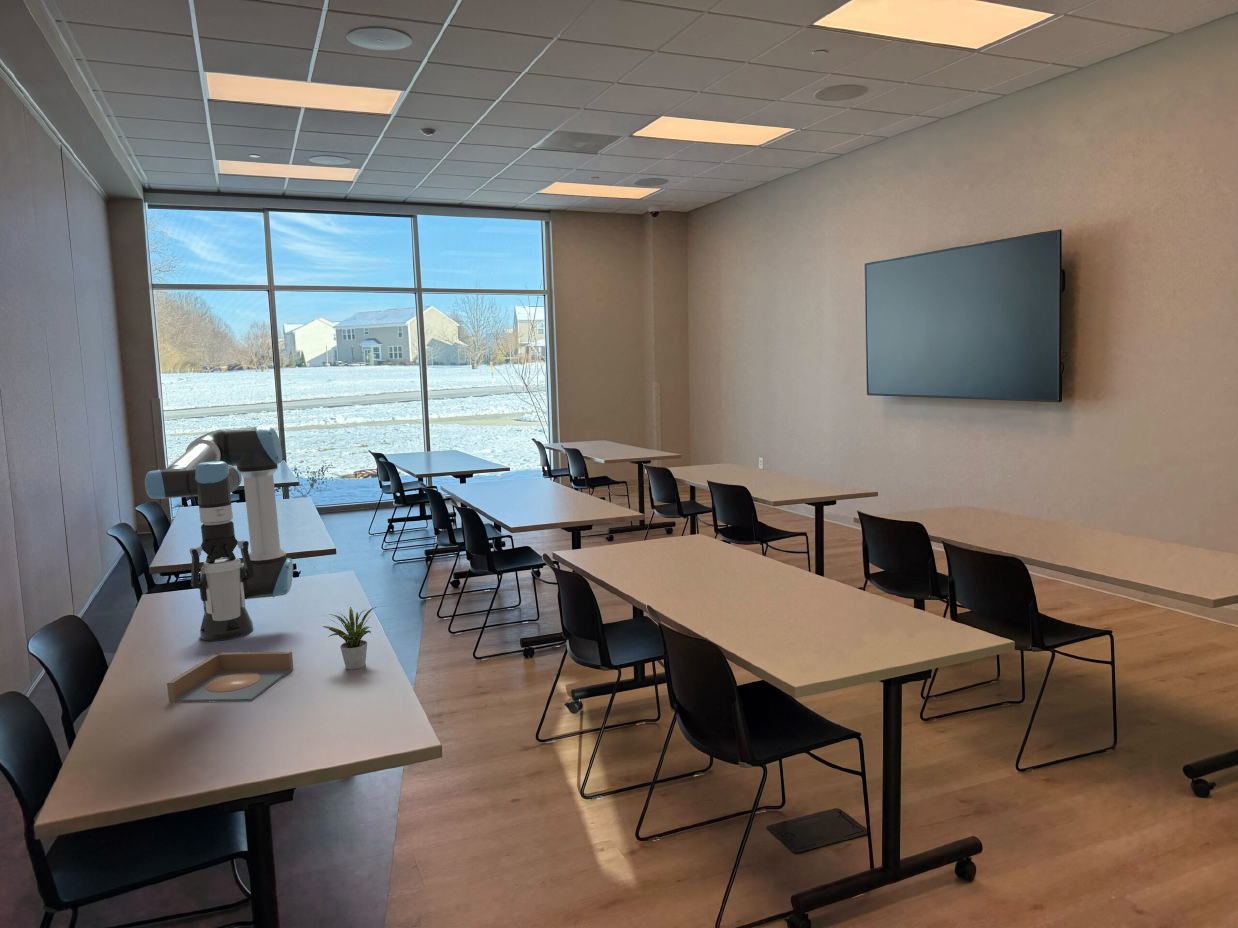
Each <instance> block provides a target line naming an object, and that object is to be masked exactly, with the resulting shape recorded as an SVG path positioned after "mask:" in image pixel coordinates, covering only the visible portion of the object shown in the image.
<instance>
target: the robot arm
mask: <svg viewBox="0 0 1238 928" xmlns="http://www.w3.org/2000/svg"><path fill="white" fill-rule="evenodd" d="M282 462H283V449H282V444H281V441H280V438H279V435H278V433H277V432H276V430H275V429H274V428H272V427H271V426H251V427H239V428H237V427H235V428H221V429H216V430H213V431H210V432H207V433H205V434H203V435H201V436H199V437H197V438H196V439H194V440H192V441H191V442H190V443H189V444H188V445H187V447H186V450H185V452H184V453H183V454H182V455H180V456H179V457H178V458H177V459H175V460H174V461H173V462H172V463H171V464H169V465H168V466H167V467H166V468H165V469H160V468H159V469H157V470H156V469H155V470H150V471H147V473H146V474H145V478H144V488H145V492H146V495H147V496H148V497H149V498H150V499H153V500H155V499H158V500H159V499H163V500H166V499H176V498H177V499H178V498H188V497H197V501H198V511H199V521H200V523H202V524H201V526H200V530H201V531H200V532H201V540H202V543H201V545H200V546H198V547H196V548H194V547H192V548H190V549H189V554H190V555H191V570H190V571H191V572H190V573H191V575H190V586H191V587H192V588H194V589H199V594H200V600H201V601H202V605H203V617H202V622H201V625H200V630H199V635H200V639H201V640H204V641H209V642H213V641H214V642H216V641H217V642H218V641H226V640H232V639H236V638H240V637H243V636H246V635H248V634H250V633H251V632H253V630H254V624H253V621H252V619H251V616H250V614H249V612H248V610H247V609H246V600H254V599H262V598H263V599H264V598H276V597H281V596H286V595H288V593H290V590H291V588H292V582H293V576H294V575H293V574H294V564H293V559H292V558H290V557H287V553H286V552H287V551H285V550H283V549H282V548H281V543H280V532H279V521H278V512H277V511H278V510H277V501H276V491H275V481H274V473H275V472H276V471H277V470H278V469H279V468H278V465H279V464H280V463H282ZM242 480H243V486H244V497H245V506H246V508H245V509H246V517H247V525H248V536H249V541H248V540H245V539H241V540H237V538H236V534H235V526H234V525H235V524H234V521H232V520H233V519H234V515H233V507H232V496H231V493H233V492H235V491H236V490H237V489H238V488H239V486H240V485H241V483H242ZM249 546H250V551H249ZM236 547H238V548H239V549H240V553H241V558H242V560H241V559H240V558H239V557H236V556H235V554H234V550H235V548H236ZM202 552H204V553H205V554H206V555H207V556H206V559H205V561H206V563H208V564H209V563H210V564H214V562H215V559H219V558H226V557H227V558H228V559H229V560H231V561H232V560H234V559H236V558H238V561H239V562H240V563H241V565H242V567H240V616H239V617H237V618H235V619H231V620H225V621H214V620H213V618H212V604H211V596H210V591H209V589H208V588H206V587H207V584H208V583H207V579H206V574H203V573H202V572H201V571H200V556H201V555H202ZM199 580H200V581H199Z"/></svg>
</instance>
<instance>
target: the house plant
mask: <svg viewBox="0 0 1238 928" xmlns="http://www.w3.org/2000/svg"><path fill="white" fill-rule="evenodd" d="M374 609H377V606H376V607H372V608H369V610H368V611H367V609H364V610H362V611H361V612H360V613H359V612H358V611H357V612H356V614H355V617H354V611H353V609H352V607H351V606H350V607H349V611H348V613H349V615H348V618H347V617H346V616H345V615H343V614H342V613H340V612H338V614H340V615H341V616H342V617H341V616H339V615H336V614H331V613H329V614H328V615H330V616H332V617H333V618H334V619H337V620H338V621H340V622H341V625H340V627H341V628H342V629H344V630H345V631H346V632H344V631H343V630H341V629H339V628H335V627H333V626H327V625H325V626H324V625H323V626H322V627H323V628H325V629H328V630H329V631H331V632H332V634H330V635H328V638H330V637H331V636H332V637H333V636H339V637H340V638H342V639H343V640H344V642H343V643H341V644H340V645H339V646H340V652H341V655H342V659H343V662H344V666H345V669H346V668H347V670H359V669H362V668H364V667H365V666H366V662H367V649H368V641H367V640H365V639H362V638H363V637H364V636H365V635H367V634H368V633H369V634H370V635H371V634H372V631H371V630H369V629H371V626H365V625H366V623H367V622H368V620H369V619H370V618H371V616H372V615H371V616H369V617H368V615H369V614H370V613H371V612H372V611H373V610H374ZM366 611H367V612H366ZM363 612H366V613H365V614H364V615H363V616H362V618H361V621H360V622H359V619H360V617H361V615H362V613H363ZM367 617H368V618H367ZM366 618H367V620H366ZM344 619H345V620H344ZM348 619H349V620H348ZM365 620H366V621H365ZM330 621H332V622H334V623H336V624H337V625H339V623H338V622H336V621H334V620H332V619H330ZM358 622H359V623H358Z"/></svg>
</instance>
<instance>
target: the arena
mask: <svg viewBox="0 0 1238 928" xmlns="http://www.w3.org/2000/svg"><path fill="white" fill-rule="evenodd" d="M293 661H294V660H293V651H249V652H248V651H246V652H245V651H243V652H237V651H235V652H215V653H214V654H212V655H210V656H209V657H207V658H205V659H204V660H202V661H200V662H199V663H198V664H196V665H194V666H192V667H191V668H188V670H186V671H185V672H183V673H181V674H179V675H178V676H176V677H174V678H173V679H170V680H169V681H168V682H166V685H167V696H168V702H169V703H200V702H201V703H202V702H203V703H204V702H206V703H208V702H209V701H211V703H212V701H224V702H253V701H254V700H256V699H257V698H258V697H259V696H260V695H262V694H263V693H265V692H267V690H269V689H270V688H271V687H272V686H274V685H275V684H277V683H278V682H279V681H280V680H281V679H283V678H285V676H287V675H288V674H290V671H291V672H292V671H294V662H293Z"/></svg>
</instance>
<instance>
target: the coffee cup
mask: <svg viewBox="0 0 1238 928" xmlns="http://www.w3.org/2000/svg"><path fill="white" fill-rule="evenodd" d="M238 558H239V557H236V559H234V560H232V561H231V560H229V559H228V558H227V557H226V558H219V559H215V562H214V564H210V563H209V564H208V563H206V560H205V561H204V562H203V565H202V566H201V568H200V572H202V573H203V574H206V579H207V583H208V584H207V587H206V588H208V589H209V591H210V596H211V604H212V618H213V620H214V621H225V620H231V619H235V618H237V617H239V616H240V567H242V565H241V563H242V562H241V563H240V562H239V561H238Z"/></svg>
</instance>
